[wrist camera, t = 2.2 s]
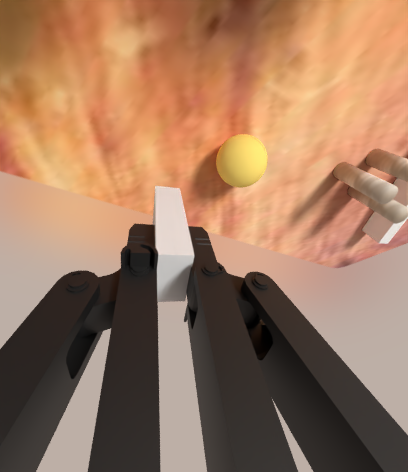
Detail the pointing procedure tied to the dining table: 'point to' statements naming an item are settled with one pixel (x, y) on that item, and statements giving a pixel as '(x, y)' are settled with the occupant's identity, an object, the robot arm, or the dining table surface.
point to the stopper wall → (383, 227)
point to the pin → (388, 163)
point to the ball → (241, 160)
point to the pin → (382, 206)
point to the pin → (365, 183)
